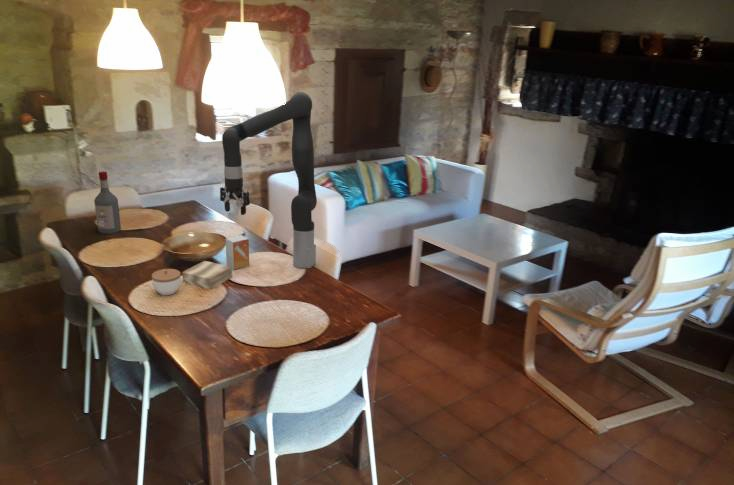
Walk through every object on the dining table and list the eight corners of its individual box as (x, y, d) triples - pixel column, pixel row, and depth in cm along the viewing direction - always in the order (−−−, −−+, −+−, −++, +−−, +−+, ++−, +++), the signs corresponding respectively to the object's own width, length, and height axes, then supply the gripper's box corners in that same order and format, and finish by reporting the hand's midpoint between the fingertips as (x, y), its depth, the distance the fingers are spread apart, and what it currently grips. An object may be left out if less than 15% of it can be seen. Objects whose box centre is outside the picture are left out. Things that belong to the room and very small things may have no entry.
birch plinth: (232, 277, 243) (231, 267, 241) (210, 290, 231) (210, 279, 229) (205, 271, 248) (204, 260, 247) (183, 283, 236) (182, 272, 235)
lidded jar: (152, 299, 221) (150, 276, 218) (154, 287, 231) (151, 265, 227) (181, 296, 224) (179, 274, 221) (182, 285, 234) (180, 263, 230)
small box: (233, 270, 250) (232, 242, 245) (226, 265, 254) (225, 238, 249) (249, 266, 255) (249, 238, 250) (242, 261, 259) (241, 234, 255)
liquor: (113, 234, 283) (105, 175, 273) (95, 232, 284) (88, 173, 274) (123, 228, 292) (116, 171, 281) (106, 227, 293) (99, 169, 282)
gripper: (252, 176, 242) (254, 213, 247) (226, 171, 248) (228, 207, 254) (240, 180, 235) (242, 218, 241) (214, 175, 242) (216, 212, 247)
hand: (235, 212), depth 247 cm, fingers open, 8 cm apart
